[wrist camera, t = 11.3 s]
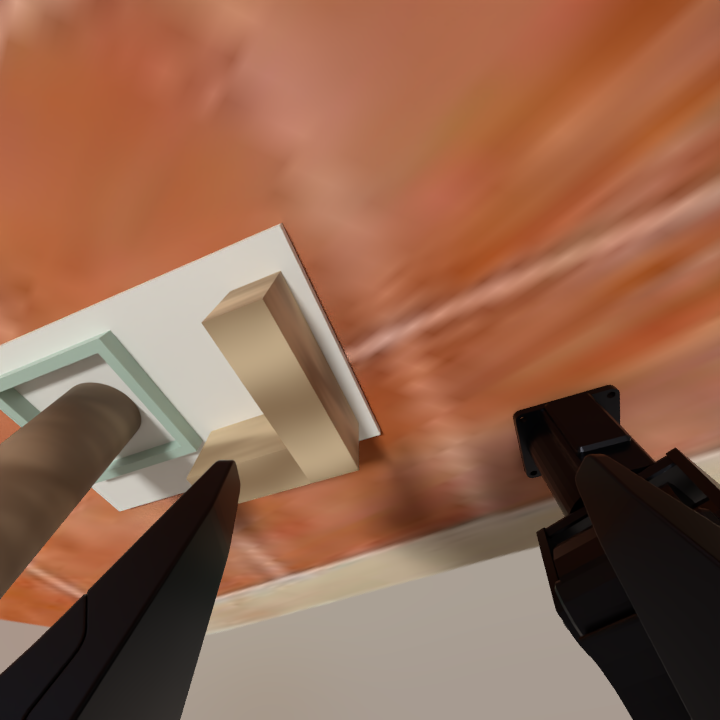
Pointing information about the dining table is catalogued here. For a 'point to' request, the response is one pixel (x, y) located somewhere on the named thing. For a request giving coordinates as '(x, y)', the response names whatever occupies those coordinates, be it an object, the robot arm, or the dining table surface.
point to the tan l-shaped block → (278, 396)
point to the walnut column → (57, 467)
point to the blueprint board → (166, 364)
